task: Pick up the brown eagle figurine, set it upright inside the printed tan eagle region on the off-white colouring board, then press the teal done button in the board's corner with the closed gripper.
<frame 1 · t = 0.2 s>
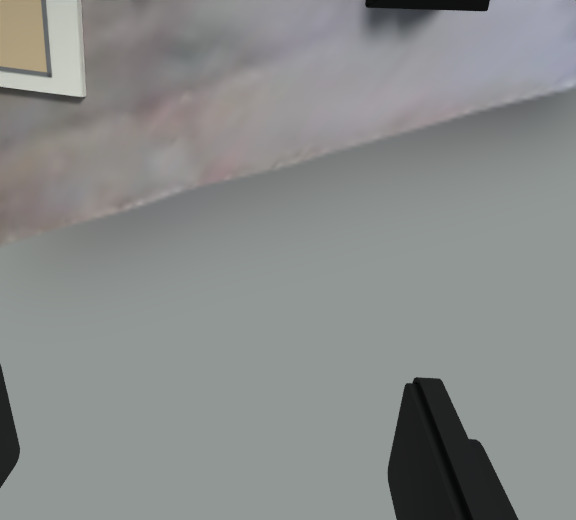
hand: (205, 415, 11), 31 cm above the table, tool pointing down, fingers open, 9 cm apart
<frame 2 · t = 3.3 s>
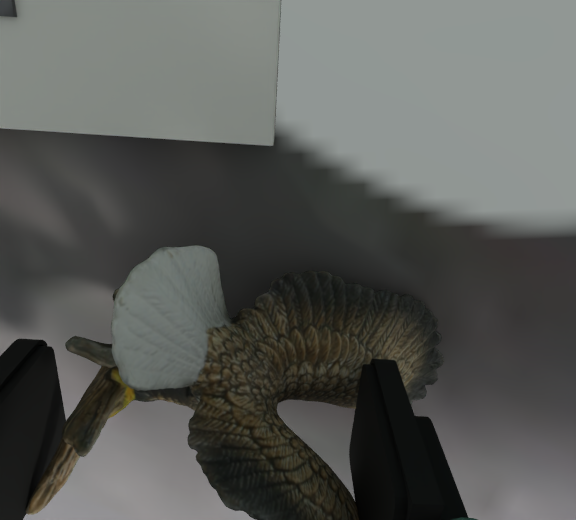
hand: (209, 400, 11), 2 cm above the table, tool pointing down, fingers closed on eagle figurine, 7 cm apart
eagle figurine: (280, 342, 14), on the table, touching gripper
when the fingers open (4 cm above the table, at t = 9.2 s): eagle figurine stays where it is, resting on board.
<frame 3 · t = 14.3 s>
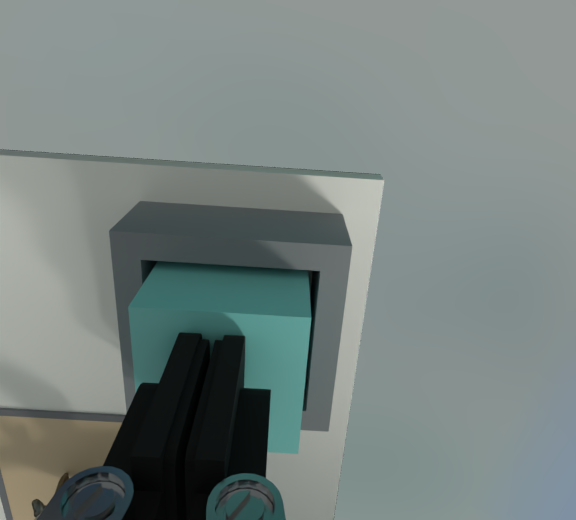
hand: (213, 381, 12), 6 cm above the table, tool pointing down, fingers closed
done button: (228, 346, 14), point 4 cm above the table, slide at 0.9 cm, touching gripper
board: (155, 417, 20), on the table
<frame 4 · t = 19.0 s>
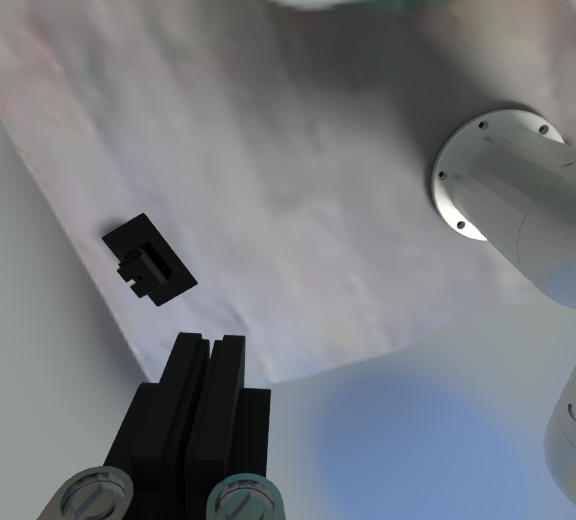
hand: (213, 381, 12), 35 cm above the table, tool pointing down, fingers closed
black block on base: (152, 258, 50), on the table
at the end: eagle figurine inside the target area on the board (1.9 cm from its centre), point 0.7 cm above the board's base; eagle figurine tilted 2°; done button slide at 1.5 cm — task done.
